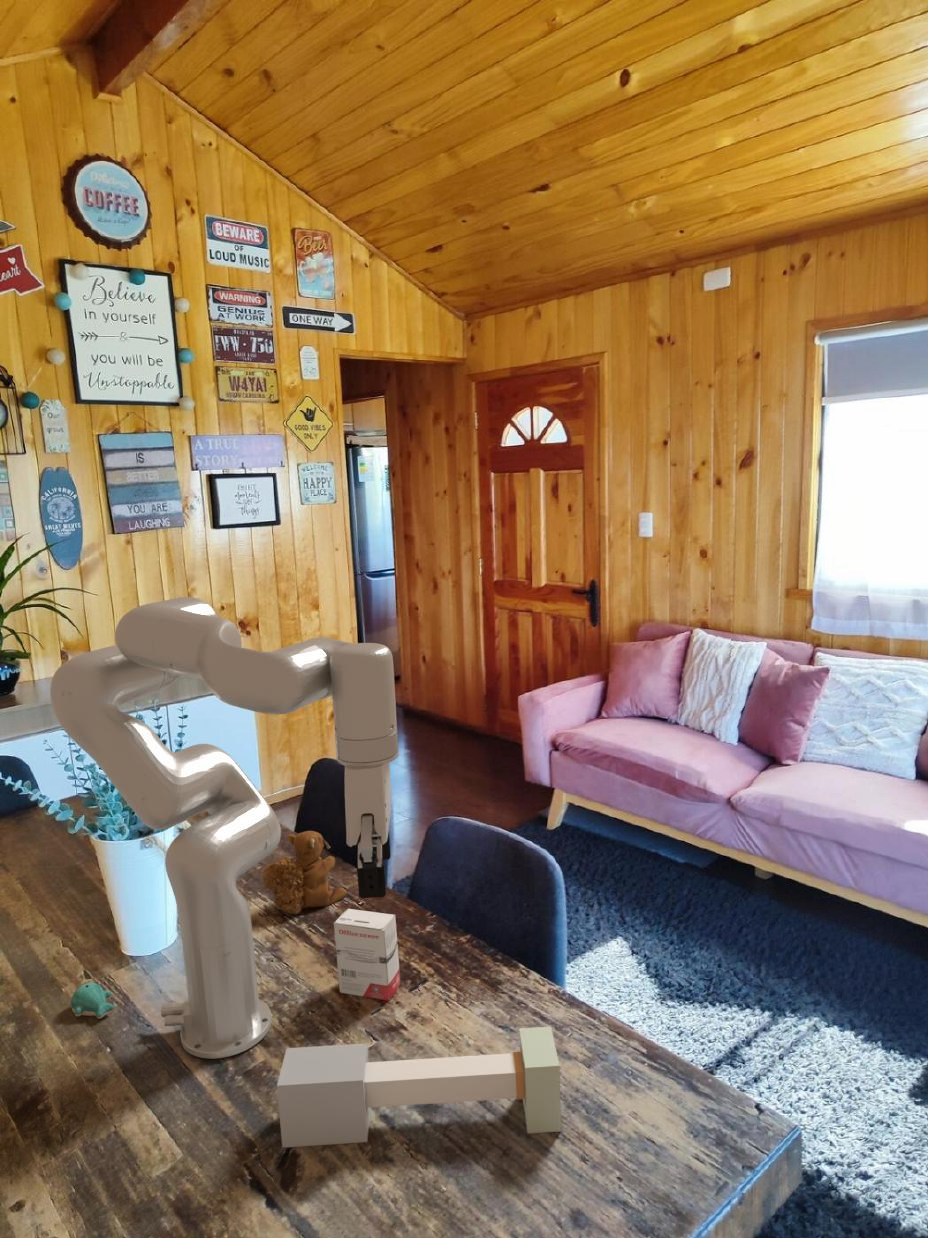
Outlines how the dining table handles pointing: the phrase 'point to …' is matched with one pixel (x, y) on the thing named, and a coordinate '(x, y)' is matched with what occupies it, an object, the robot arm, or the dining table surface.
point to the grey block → (323, 1095)
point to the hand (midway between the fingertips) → (375, 877)
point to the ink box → (367, 954)
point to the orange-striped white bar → (444, 1080)
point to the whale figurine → (91, 1001)
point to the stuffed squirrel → (303, 876)
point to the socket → (541, 1080)
